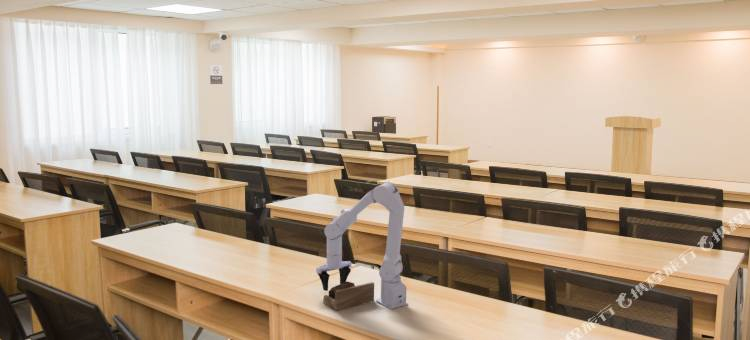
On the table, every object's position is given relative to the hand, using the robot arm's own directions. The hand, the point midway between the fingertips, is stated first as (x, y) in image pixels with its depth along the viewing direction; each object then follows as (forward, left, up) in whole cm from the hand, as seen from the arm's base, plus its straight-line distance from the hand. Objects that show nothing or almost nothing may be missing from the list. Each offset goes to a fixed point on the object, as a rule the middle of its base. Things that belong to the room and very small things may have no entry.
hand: (334, 288), depth 223 cm
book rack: (-10, 0, -2) cm, 10 cm away
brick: (-5, 0, -3) cm, 5 cm away
